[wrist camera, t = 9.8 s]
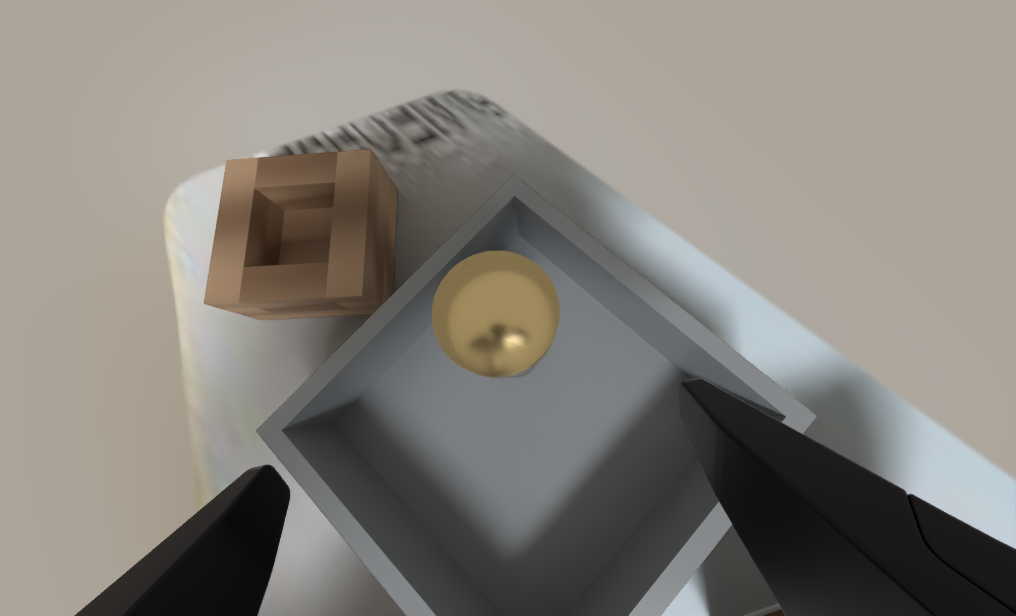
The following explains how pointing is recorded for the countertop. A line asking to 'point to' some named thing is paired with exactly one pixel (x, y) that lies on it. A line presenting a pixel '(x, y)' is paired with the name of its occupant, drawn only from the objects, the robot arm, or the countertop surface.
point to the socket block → (304, 237)
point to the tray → (522, 439)
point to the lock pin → (496, 314)
